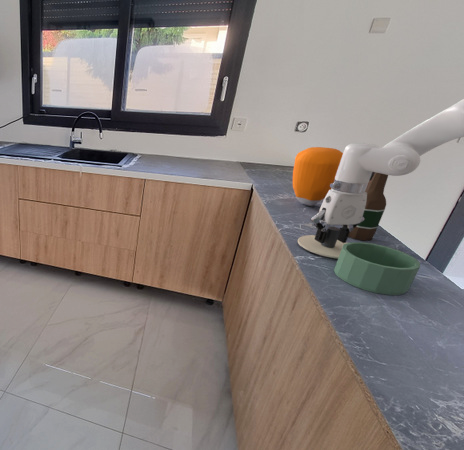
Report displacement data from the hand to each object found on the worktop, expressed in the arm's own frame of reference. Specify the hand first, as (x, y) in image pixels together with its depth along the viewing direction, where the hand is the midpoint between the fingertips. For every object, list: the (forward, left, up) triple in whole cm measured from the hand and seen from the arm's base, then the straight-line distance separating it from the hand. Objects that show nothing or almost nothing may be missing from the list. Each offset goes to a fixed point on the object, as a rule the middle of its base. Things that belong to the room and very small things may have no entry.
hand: (329, 240), depth 99 cm
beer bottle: (-13, -14, -3) cm, 19 cm away
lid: (0, 0, -2) cm, 2 cm away
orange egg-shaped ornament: (-7, -46, -3) cm, 47 cm away
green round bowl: (-4, +17, -3) cm, 18 cm away
